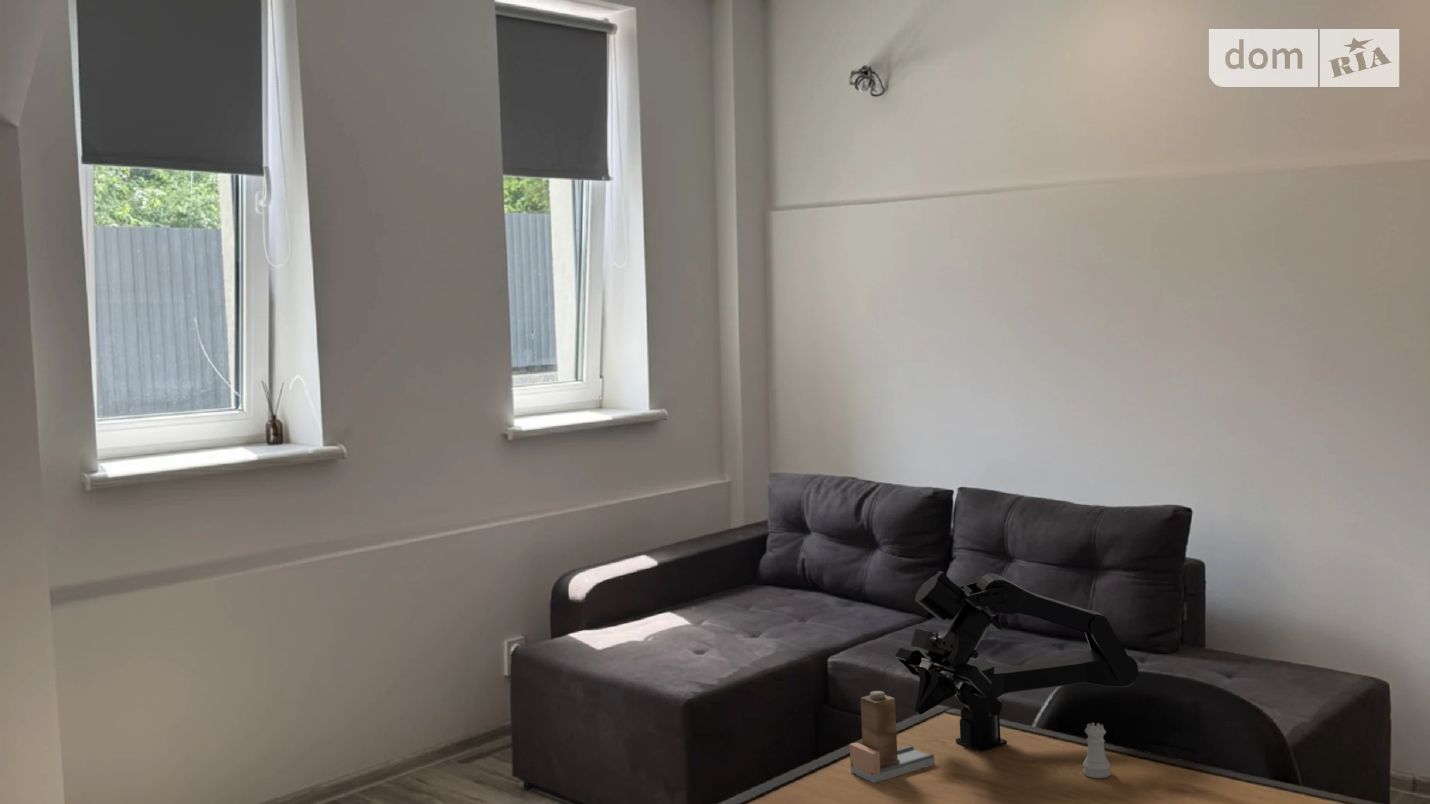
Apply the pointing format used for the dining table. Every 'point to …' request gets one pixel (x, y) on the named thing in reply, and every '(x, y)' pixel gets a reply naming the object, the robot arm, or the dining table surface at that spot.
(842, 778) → the dining table surface
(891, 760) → the slider block with knob
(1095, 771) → the rook chess piece
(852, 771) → the rail
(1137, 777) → the dining table surface
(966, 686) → the robot arm
